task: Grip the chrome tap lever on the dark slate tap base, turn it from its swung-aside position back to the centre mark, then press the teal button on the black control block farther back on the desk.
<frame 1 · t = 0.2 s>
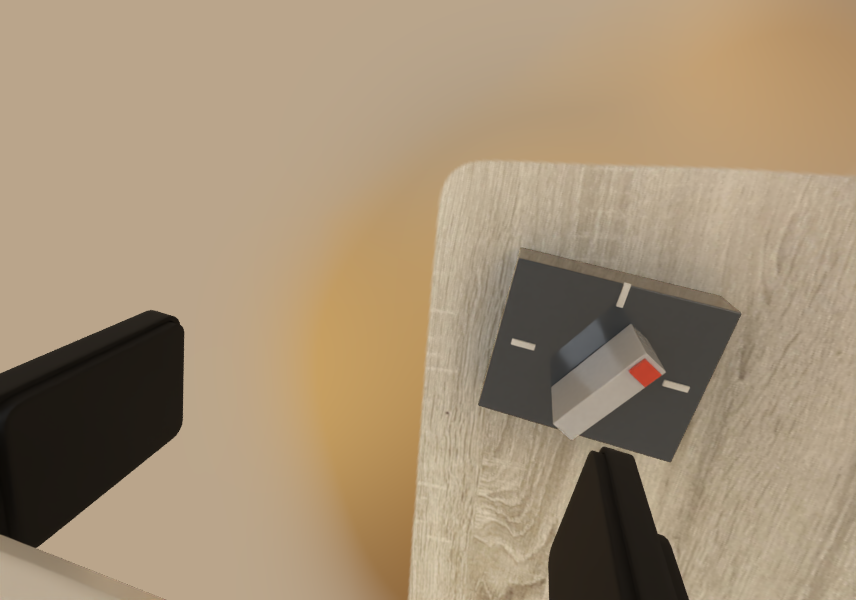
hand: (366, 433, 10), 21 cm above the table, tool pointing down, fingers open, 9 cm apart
tap lever: (602, 381, 25), point 5 cm above the table, hinge at 60.0°
tap base: (592, 343, 30), on the table
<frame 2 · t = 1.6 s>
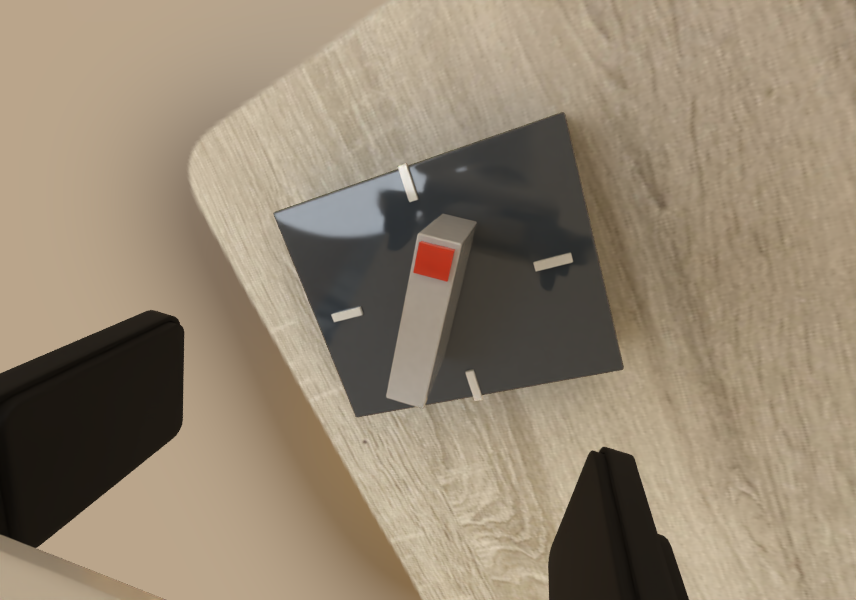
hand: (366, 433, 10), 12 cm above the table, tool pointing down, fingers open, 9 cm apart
tap lever: (432, 307, 17), point 5 cm above the table, hinge at 60.0°
tap base: (455, 269, 22), on the table
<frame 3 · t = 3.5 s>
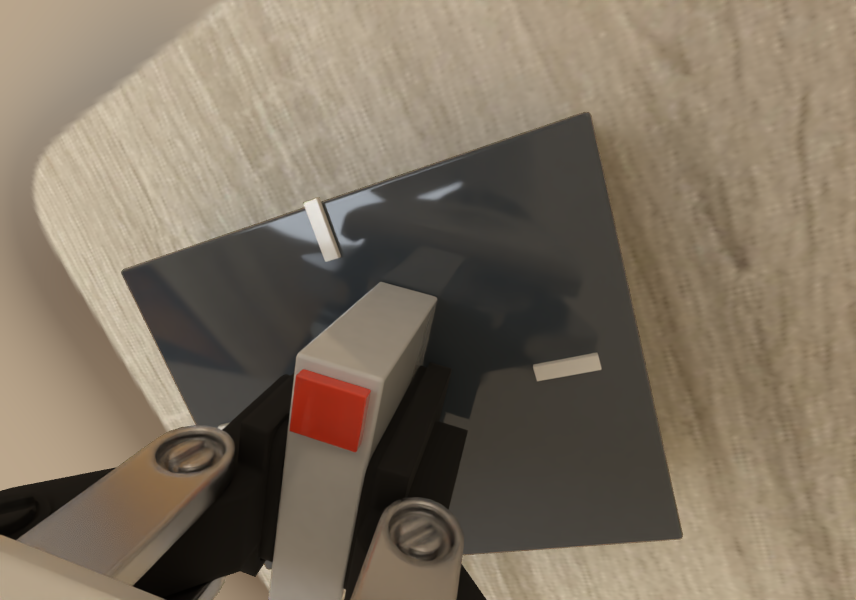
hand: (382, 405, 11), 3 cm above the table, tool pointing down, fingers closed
tap lever: (355, 452, 10), point 5 cm above the table, hinge at 60.0°, touching gripper
tap base: (416, 349, 14), on the table
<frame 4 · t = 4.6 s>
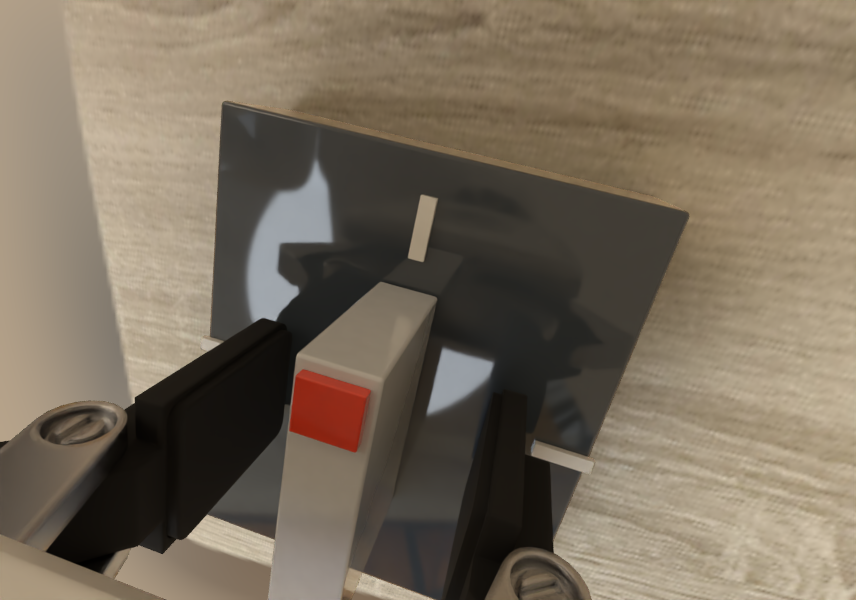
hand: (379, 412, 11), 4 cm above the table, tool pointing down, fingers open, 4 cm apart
tap lever: (355, 452, 10), point 5 cm above the table, hinge at 0.6°
tap base: (416, 349, 14), on the table
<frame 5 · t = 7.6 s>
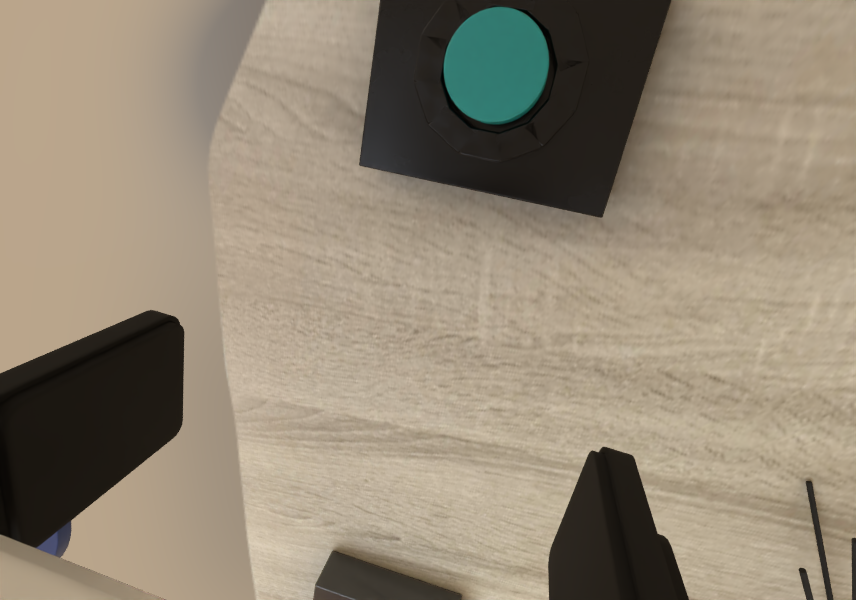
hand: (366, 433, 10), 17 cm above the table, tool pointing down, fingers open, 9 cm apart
button: (496, 70, 19), point 4 cm above the table, slide at 0.1 cm
control block: (503, 83, 23), on the table
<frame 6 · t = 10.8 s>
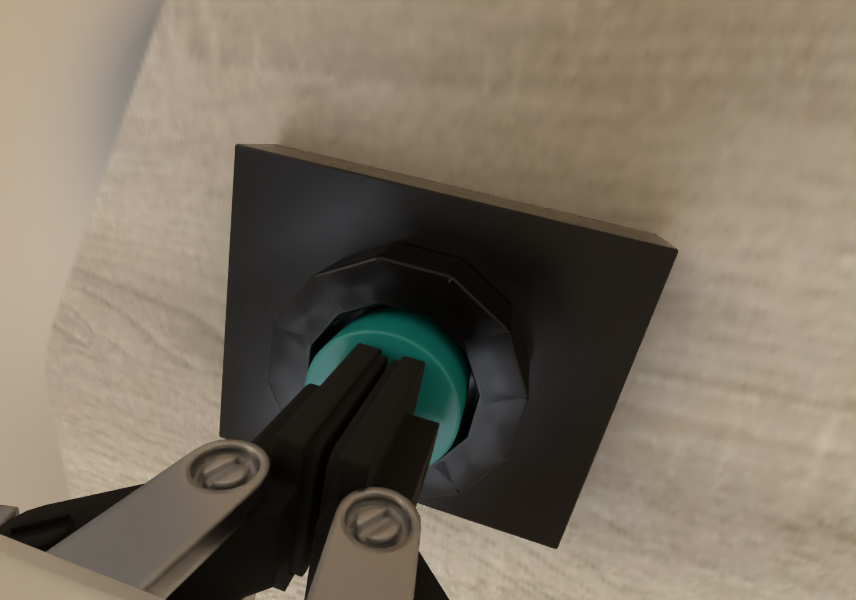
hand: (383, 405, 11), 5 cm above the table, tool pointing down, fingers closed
button: (389, 389, 12), point 4 cm above the table, slide at -0.4 cm, touching gripper
control block: (423, 333, 16), on the table
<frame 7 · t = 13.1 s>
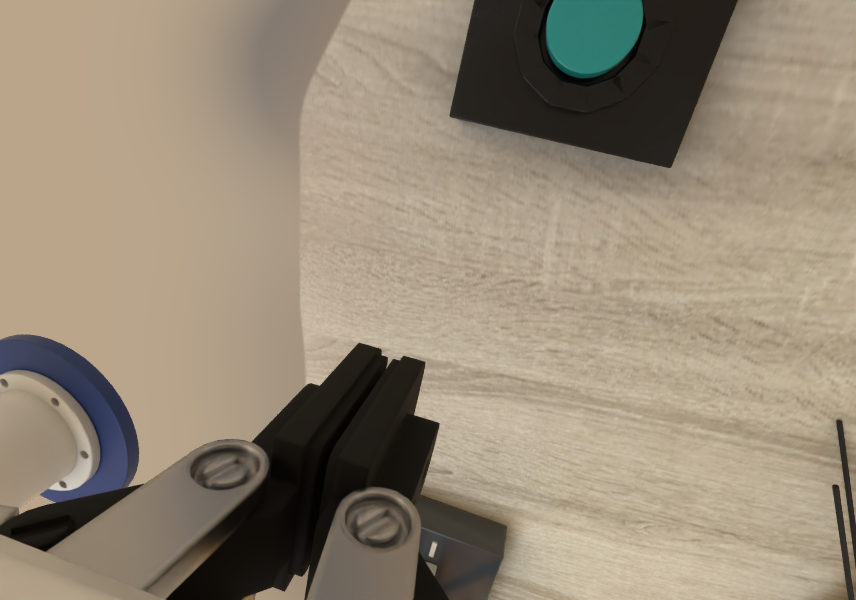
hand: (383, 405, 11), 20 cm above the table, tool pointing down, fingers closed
button: (591, 27, 21), point 4 cm above the table, slide at 0.1 cm
tap base: (429, 557, 39), on the table
reed diffuser: (851, 546, 31), on the table
control block: (584, 46, 25), on the table
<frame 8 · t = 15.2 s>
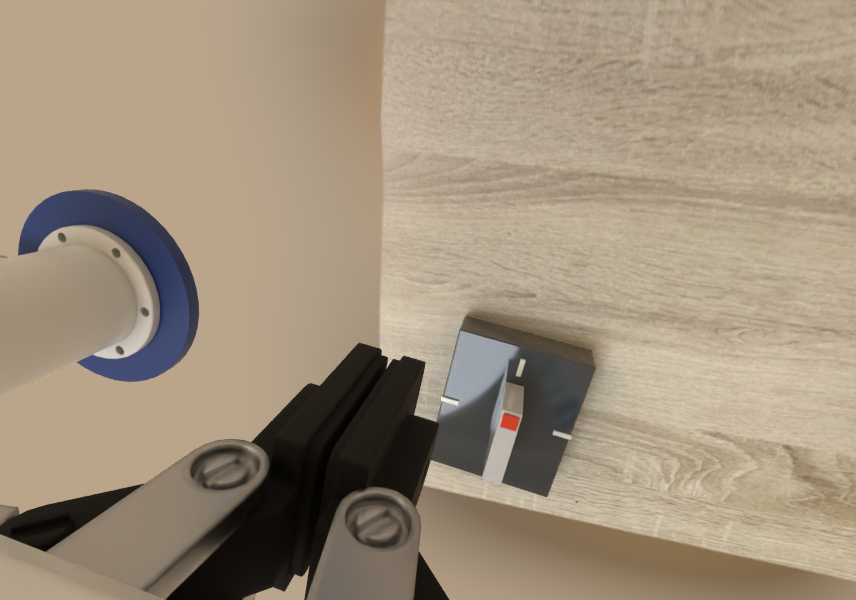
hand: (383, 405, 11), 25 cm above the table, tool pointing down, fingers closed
tap lever: (503, 433, 34), point 5 cm above the table, hinge at 0.6°
tap base: (507, 397, 38), on the table
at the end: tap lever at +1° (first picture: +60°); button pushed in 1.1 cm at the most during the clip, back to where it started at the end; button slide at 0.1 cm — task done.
